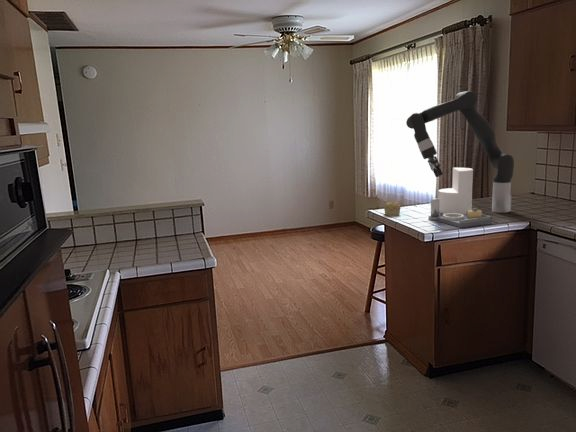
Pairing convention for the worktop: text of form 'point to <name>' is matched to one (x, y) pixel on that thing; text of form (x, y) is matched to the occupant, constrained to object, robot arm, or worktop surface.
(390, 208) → the decorative item
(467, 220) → the carrier
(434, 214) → the grey block on base
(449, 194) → the white stepped tower
